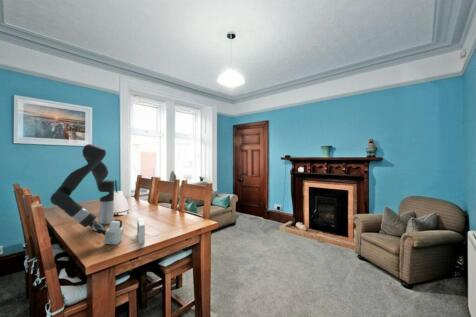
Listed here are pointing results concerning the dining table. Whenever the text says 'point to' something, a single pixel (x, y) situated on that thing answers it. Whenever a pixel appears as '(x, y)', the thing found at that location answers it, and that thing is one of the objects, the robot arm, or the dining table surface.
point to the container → (114, 232)
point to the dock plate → (141, 230)
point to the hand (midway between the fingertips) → (108, 235)
